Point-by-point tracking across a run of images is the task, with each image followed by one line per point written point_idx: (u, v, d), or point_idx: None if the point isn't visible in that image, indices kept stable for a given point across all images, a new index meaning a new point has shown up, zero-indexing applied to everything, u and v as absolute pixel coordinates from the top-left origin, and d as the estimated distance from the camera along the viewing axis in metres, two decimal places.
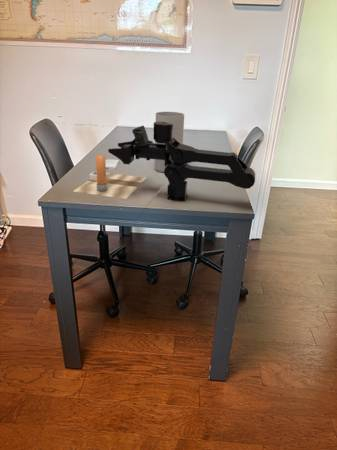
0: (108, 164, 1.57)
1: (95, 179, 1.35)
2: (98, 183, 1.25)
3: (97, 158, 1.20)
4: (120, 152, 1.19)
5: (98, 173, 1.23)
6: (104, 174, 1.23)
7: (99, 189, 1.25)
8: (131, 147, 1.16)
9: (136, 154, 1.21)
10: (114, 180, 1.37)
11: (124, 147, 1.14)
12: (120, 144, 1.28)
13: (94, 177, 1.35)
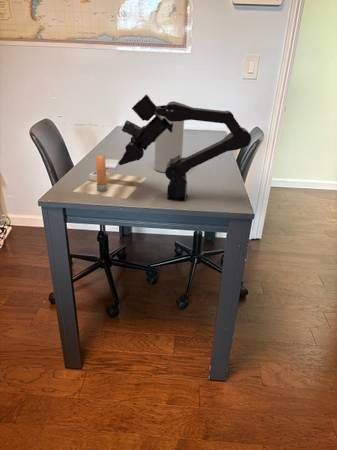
0: (108, 164, 1.57)
1: (95, 179, 1.35)
2: (98, 183, 1.25)
3: (97, 158, 1.20)
4: (128, 155, 1.15)
5: (98, 173, 1.23)
6: (104, 174, 1.23)
7: (99, 189, 1.25)
8: (132, 141, 1.11)
9: (142, 146, 1.16)
10: (114, 180, 1.37)
11: (127, 146, 1.10)
12: None
13: (94, 177, 1.35)
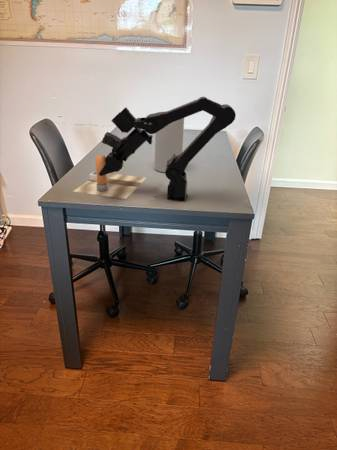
0: None
1: (95, 179, 1.35)
2: (98, 183, 1.25)
3: (97, 158, 1.20)
4: (108, 166, 1.17)
5: (98, 173, 1.23)
6: None
7: (99, 189, 1.25)
8: (111, 153, 1.13)
9: (122, 157, 1.18)
10: (114, 180, 1.37)
11: (106, 158, 1.12)
12: None
13: (94, 177, 1.35)
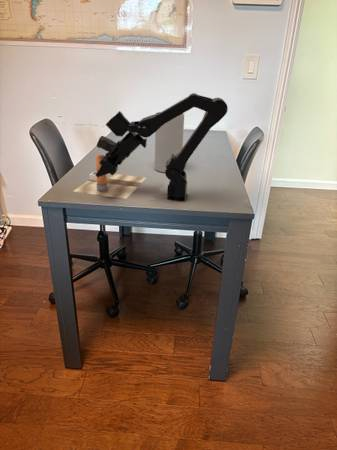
0: None
1: (95, 179, 1.35)
2: (98, 183, 1.25)
3: (97, 158, 1.20)
4: (105, 168, 1.20)
5: None
6: None
7: (99, 189, 1.25)
8: (106, 157, 1.14)
9: (116, 160, 1.19)
10: (114, 180, 1.37)
11: (100, 162, 1.13)
12: None
13: (94, 177, 1.35)
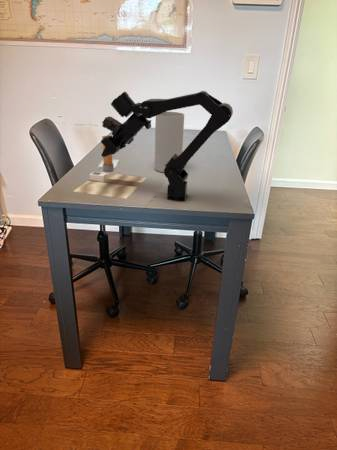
0: None
1: (95, 179, 1.35)
2: (104, 163, 1.27)
3: None
4: None
5: None
6: None
7: (104, 169, 1.28)
8: (108, 136, 1.16)
9: (120, 141, 1.20)
10: (114, 180, 1.37)
11: (102, 140, 1.15)
12: None
13: (94, 177, 1.35)
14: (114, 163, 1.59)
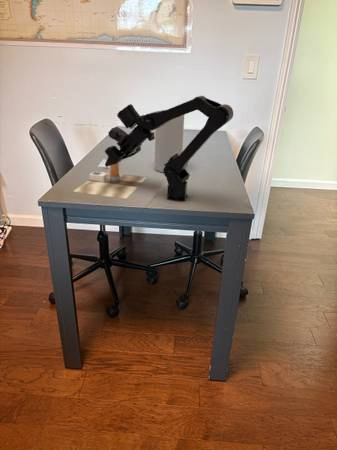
0: None
1: (95, 179, 1.35)
2: (110, 174, 1.33)
3: None
4: None
5: None
6: (116, 166, 1.31)
7: (111, 180, 1.34)
8: (112, 146, 1.21)
9: (124, 151, 1.25)
10: None
11: (105, 150, 1.21)
12: None
13: (94, 177, 1.35)
14: None
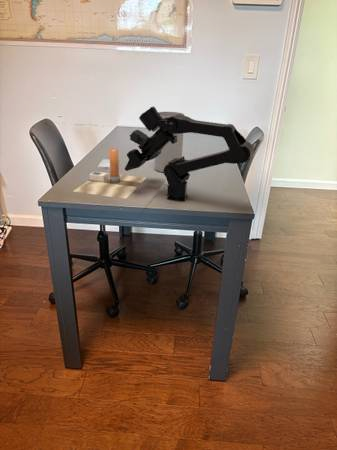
0: (108, 164, 1.57)
1: (95, 179, 1.35)
2: (110, 174, 1.33)
3: (110, 151, 1.29)
4: (132, 162, 1.22)
5: (110, 165, 1.31)
6: (116, 167, 1.31)
7: (111, 180, 1.34)
8: (134, 150, 1.18)
9: (146, 154, 1.22)
10: None
11: (127, 153, 1.18)
12: None
13: (94, 177, 1.35)
14: None
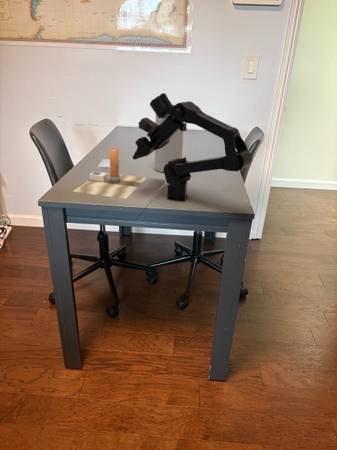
0: (108, 164, 1.57)
1: (95, 179, 1.35)
2: (110, 174, 1.33)
3: (110, 151, 1.29)
4: (140, 150, 1.20)
5: (110, 165, 1.31)
6: (116, 167, 1.31)
7: (111, 180, 1.34)
8: (142, 137, 1.16)
9: (155, 142, 1.20)
10: None
11: (136, 141, 1.15)
12: None
13: (94, 177, 1.35)
14: None
